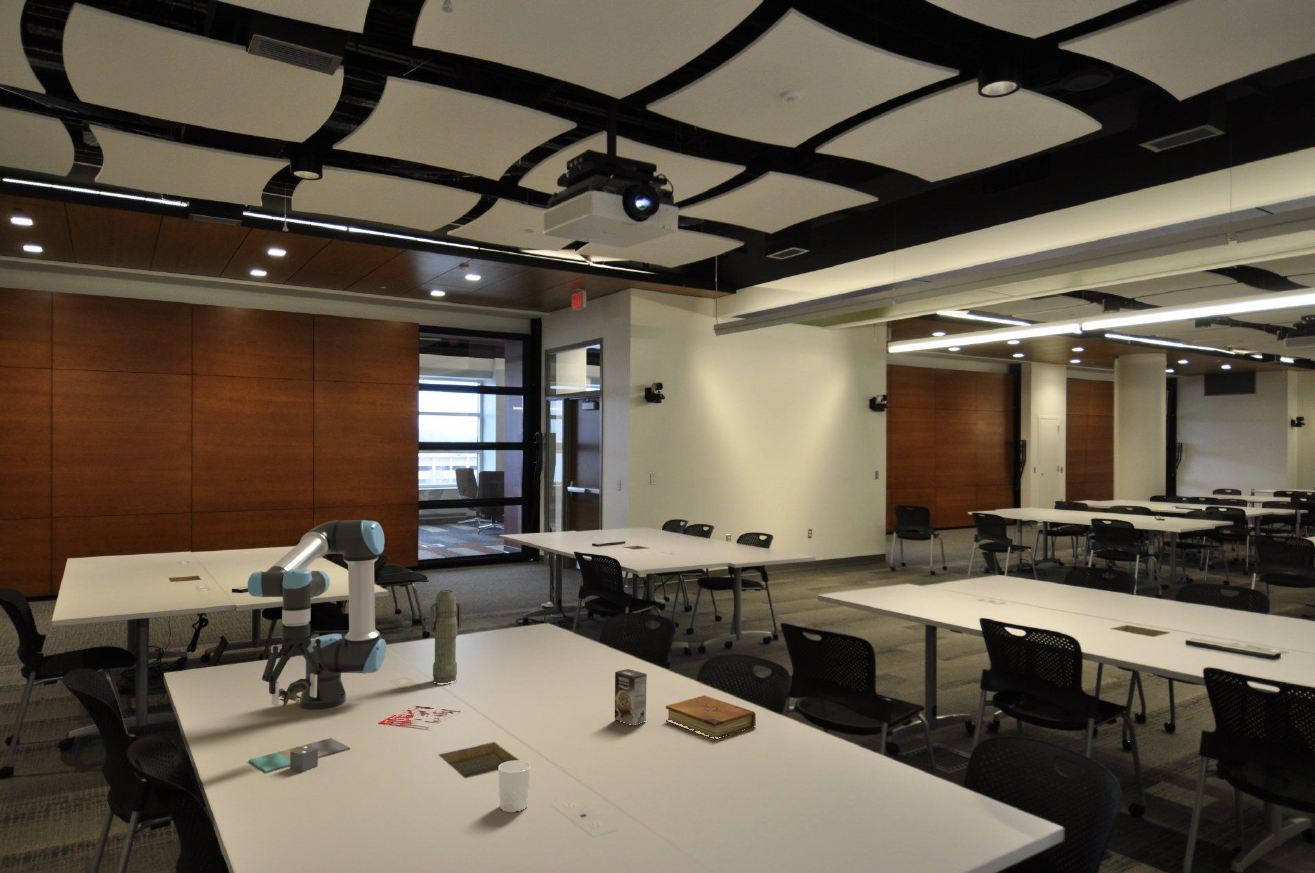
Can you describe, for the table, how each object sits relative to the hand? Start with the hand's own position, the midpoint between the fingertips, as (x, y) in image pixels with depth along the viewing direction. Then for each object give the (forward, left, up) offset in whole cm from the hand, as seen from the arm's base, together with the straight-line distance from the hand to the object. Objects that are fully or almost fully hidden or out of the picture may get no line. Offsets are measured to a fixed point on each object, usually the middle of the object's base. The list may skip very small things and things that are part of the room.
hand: (294, 700), depth 228 cm
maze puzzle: (-45, -4, -17) cm, 48 cm away
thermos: (-74, -35, -17) cm, 83 cm away
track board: (-2, 0, -16) cm, 16 cm away
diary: (-105, +71, -17) cm, 127 cm away
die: (+1, +10, -16) cm, 19 cm away
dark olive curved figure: (0, -1, -1) cm, 1 cm away
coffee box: (-89, +50, -17) cm, 103 cm away
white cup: (-23, +73, -17) cm, 78 cm away
